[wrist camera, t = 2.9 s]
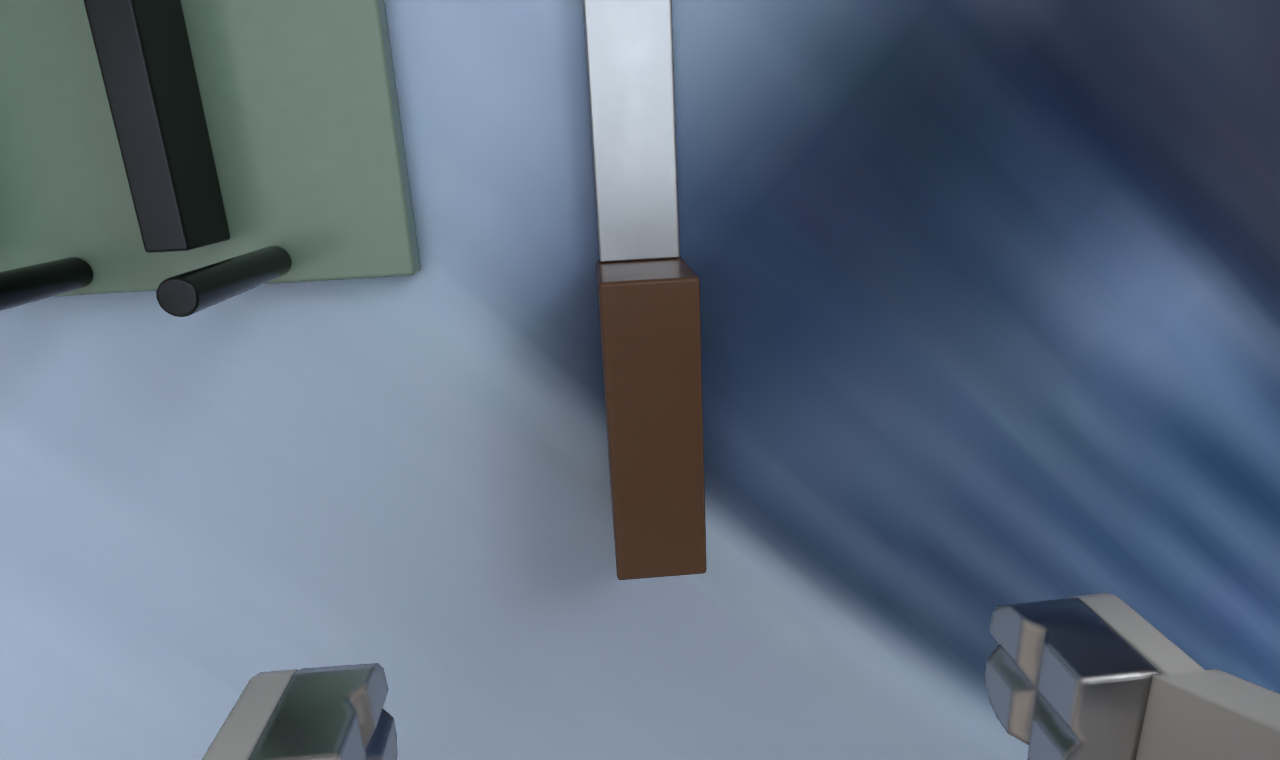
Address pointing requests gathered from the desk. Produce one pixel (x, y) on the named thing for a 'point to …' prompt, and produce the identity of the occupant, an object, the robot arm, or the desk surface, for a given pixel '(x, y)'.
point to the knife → (645, 294)
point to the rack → (198, 148)
